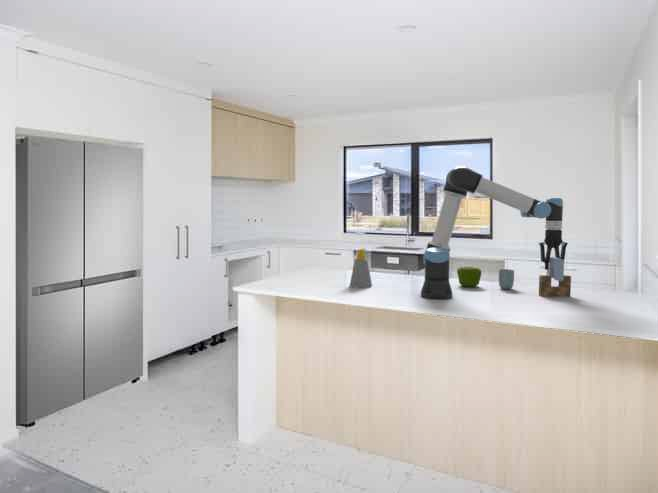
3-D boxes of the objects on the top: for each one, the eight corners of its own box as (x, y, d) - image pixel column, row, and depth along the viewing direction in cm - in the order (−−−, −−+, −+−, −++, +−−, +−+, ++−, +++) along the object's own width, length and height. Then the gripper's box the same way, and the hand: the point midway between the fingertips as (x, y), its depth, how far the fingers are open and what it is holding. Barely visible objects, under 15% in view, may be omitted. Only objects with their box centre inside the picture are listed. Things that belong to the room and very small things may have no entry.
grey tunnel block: (547, 276, 251) (548, 256, 250) (553, 276, 251) (554, 257, 250) (556, 280, 239) (557, 259, 238) (563, 280, 239) (564, 259, 238)
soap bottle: (376, 285, 277) (376, 248, 275) (365, 288, 266) (365, 250, 265) (356, 283, 284) (356, 247, 282) (345, 286, 273) (345, 249, 271)
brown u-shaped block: (540, 296, 245) (541, 276, 244) (538, 295, 248) (539, 275, 247) (570, 296, 244) (571, 276, 243) (567, 295, 247) (568, 275, 246)
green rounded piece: (485, 286, 272) (486, 266, 271) (470, 289, 265) (470, 267, 264) (467, 283, 283) (467, 263, 282) (452, 285, 276) (452, 265, 275)
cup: (514, 290, 261) (515, 271, 260) (499, 289, 263) (499, 271, 262) (512, 287, 269) (513, 269, 268) (497, 287, 270) (497, 269, 270)
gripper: (539, 229, 244) (538, 277, 246) (573, 229, 243) (571, 277, 245) (534, 228, 251) (532, 275, 254) (567, 228, 250) (565, 275, 252)
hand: (552, 276), depth 249 cm, fingers closed on grey tunnel block, 3 cm apart
